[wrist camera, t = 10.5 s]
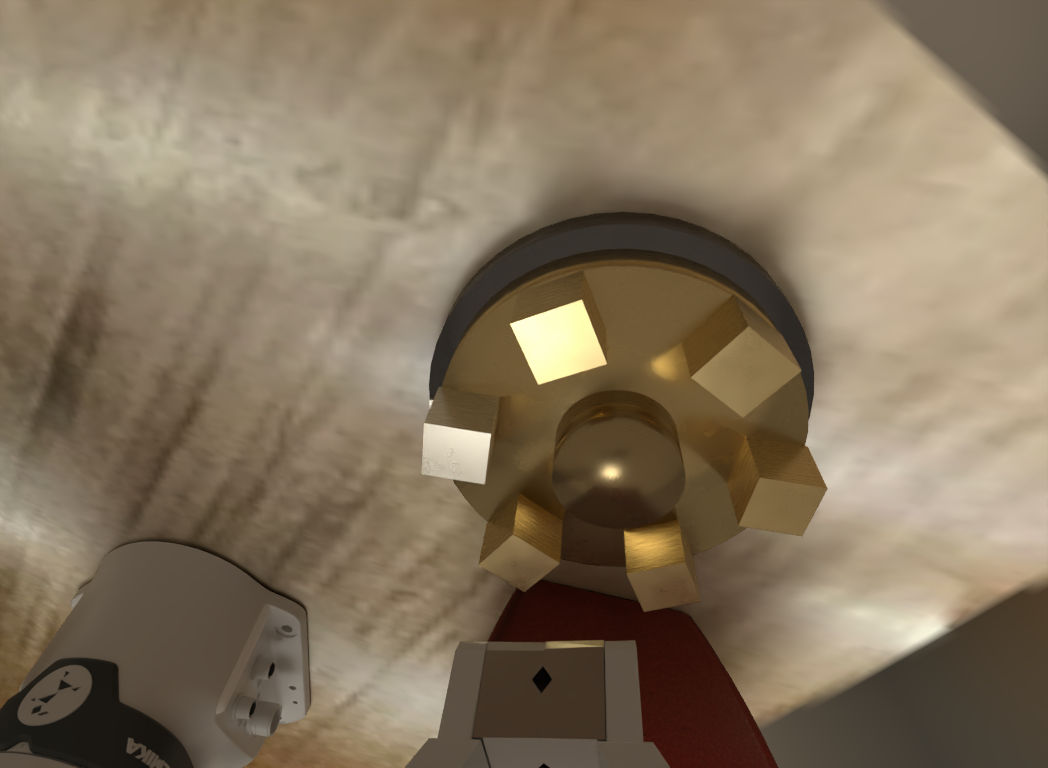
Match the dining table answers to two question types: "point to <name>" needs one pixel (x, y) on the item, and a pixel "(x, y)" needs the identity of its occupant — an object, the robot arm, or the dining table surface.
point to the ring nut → (623, 421)
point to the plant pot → (651, 672)
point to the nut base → (621, 234)
